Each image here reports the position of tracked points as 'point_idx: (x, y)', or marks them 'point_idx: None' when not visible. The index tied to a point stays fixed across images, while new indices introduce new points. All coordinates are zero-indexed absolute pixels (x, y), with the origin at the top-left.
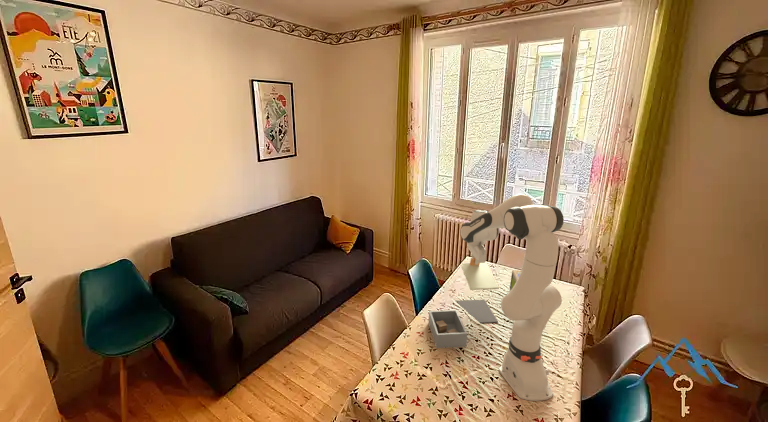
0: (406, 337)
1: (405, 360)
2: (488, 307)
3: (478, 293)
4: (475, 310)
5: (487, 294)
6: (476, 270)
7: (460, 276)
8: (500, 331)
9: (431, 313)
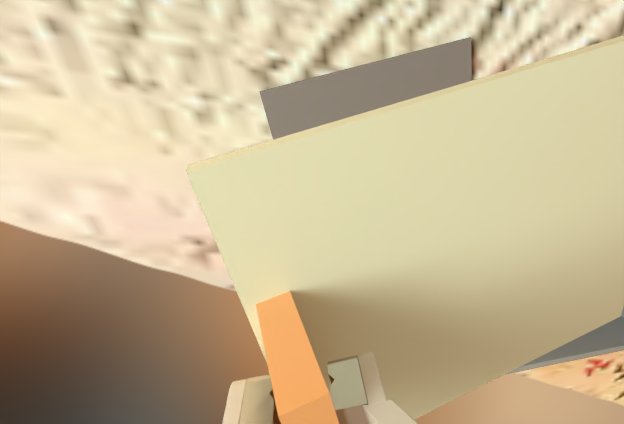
0: (525, 371)
1: (620, 362)
2: (340, 76)
3: (191, 118)
4: None
5: (185, 60)
6: (408, 309)
7: (28, 210)
8: (541, 36)
9: (518, 367)
